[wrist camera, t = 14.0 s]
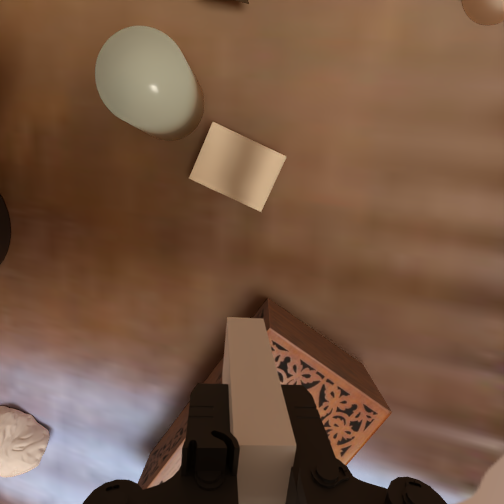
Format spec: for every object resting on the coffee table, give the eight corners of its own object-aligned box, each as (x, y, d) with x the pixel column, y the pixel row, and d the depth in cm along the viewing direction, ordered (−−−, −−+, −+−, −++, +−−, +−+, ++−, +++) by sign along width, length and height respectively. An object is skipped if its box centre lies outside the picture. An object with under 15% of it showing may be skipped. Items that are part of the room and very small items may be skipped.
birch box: (197, 180, 41) (188, 178, 36) (218, 130, 40) (212, 121, 35) (260, 209, 41) (260, 212, 36) (283, 161, 40) (286, 156, 35)
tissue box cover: (267, 297, 43) (270, 327, 33) (362, 363, 44) (392, 412, 34) (151, 451, 47) (121, 520, 37) (241, 510, 48) (236, 592, 38)
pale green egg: (122, 125, 40) (83, 105, 31) (145, 53, 39) (110, 10, 30) (190, 151, 40) (170, 139, 31) (214, 80, 39) (200, 46, 30)
